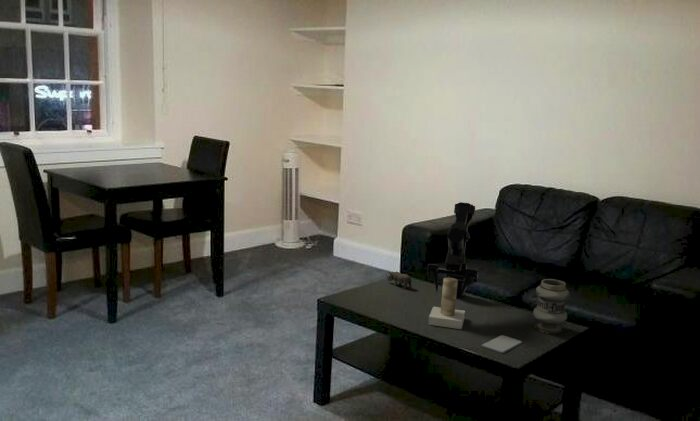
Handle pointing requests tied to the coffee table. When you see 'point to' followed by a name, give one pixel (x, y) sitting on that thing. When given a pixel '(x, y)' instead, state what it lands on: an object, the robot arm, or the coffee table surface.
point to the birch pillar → (449, 296)
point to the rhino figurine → (400, 279)
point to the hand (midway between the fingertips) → (449, 293)
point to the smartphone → (501, 344)
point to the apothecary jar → (551, 305)
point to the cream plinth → (446, 318)
